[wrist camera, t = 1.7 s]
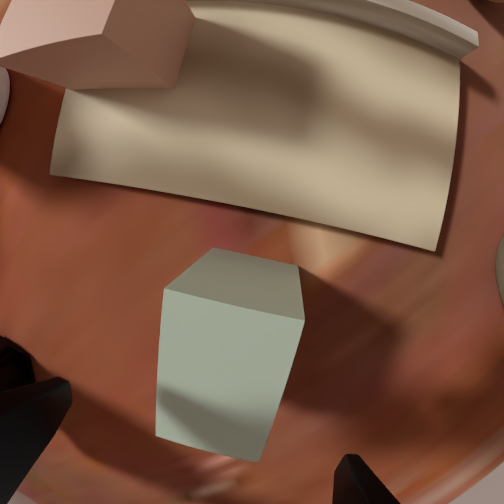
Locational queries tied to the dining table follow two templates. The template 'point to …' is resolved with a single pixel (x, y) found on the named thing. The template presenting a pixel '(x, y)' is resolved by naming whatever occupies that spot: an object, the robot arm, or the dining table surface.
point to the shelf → (291, 115)
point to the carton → (97, 42)
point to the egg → (497, 1)
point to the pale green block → (227, 351)
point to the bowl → (500, 268)
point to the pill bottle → (4, 91)
